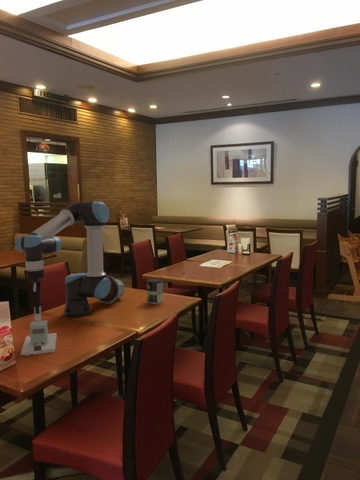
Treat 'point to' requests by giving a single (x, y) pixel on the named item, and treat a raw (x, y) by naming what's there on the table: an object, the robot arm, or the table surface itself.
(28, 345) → the mounting plate
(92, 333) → the table surface
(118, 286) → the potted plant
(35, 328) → the block
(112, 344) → the table surface
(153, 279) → the coffee can
